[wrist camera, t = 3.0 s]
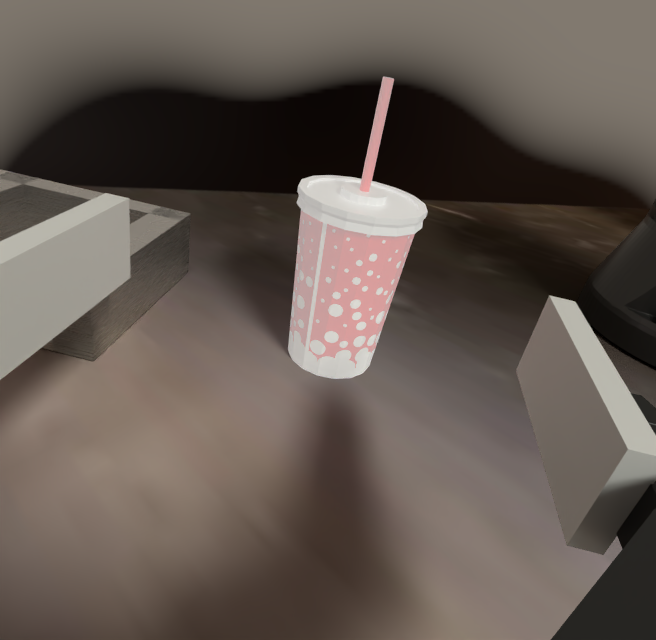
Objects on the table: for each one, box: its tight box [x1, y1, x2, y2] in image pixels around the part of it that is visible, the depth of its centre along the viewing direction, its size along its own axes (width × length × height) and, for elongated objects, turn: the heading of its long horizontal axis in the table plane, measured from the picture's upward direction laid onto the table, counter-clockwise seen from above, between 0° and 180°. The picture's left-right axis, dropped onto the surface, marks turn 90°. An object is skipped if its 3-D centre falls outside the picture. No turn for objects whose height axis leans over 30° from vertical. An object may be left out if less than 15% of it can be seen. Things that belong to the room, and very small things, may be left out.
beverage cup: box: [288, 77, 427, 379], centre depth 25 cm, size 6×6×14 cm
